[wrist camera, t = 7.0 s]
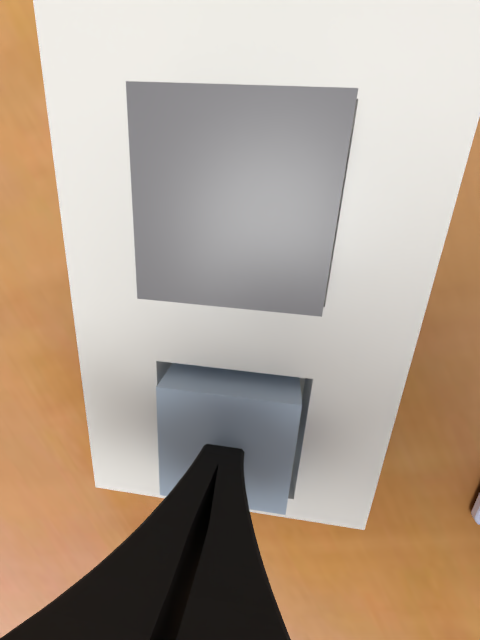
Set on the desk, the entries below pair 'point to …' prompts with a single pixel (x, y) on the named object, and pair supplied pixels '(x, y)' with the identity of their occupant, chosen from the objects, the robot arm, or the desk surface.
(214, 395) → the blue key
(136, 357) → the keypad
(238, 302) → the charcoal key
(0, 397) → the desk surface
